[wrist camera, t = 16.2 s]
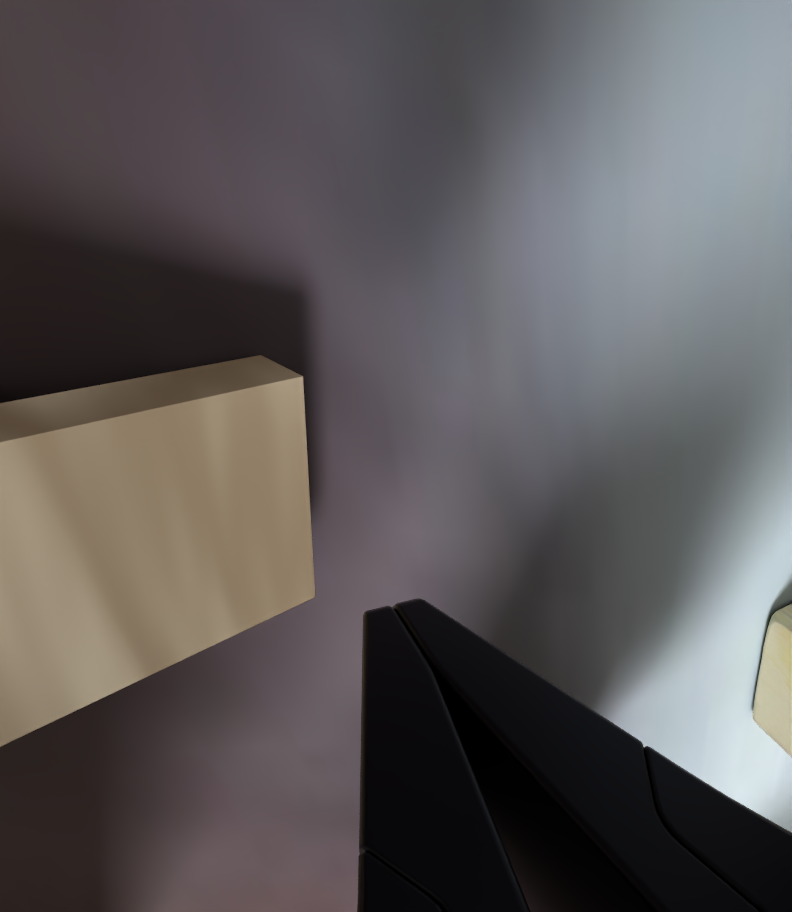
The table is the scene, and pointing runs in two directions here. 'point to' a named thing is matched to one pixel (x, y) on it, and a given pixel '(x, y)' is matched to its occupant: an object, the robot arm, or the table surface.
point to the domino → (145, 528)
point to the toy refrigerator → (776, 681)
